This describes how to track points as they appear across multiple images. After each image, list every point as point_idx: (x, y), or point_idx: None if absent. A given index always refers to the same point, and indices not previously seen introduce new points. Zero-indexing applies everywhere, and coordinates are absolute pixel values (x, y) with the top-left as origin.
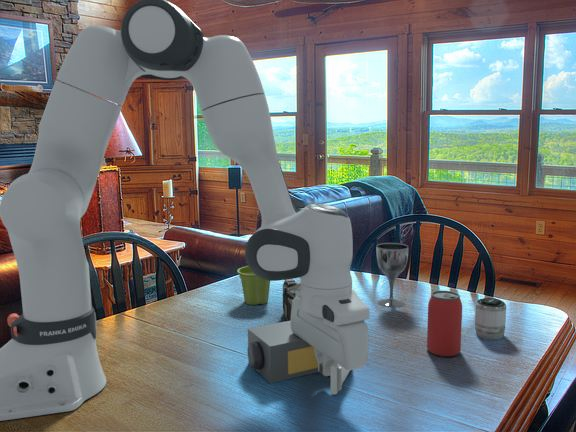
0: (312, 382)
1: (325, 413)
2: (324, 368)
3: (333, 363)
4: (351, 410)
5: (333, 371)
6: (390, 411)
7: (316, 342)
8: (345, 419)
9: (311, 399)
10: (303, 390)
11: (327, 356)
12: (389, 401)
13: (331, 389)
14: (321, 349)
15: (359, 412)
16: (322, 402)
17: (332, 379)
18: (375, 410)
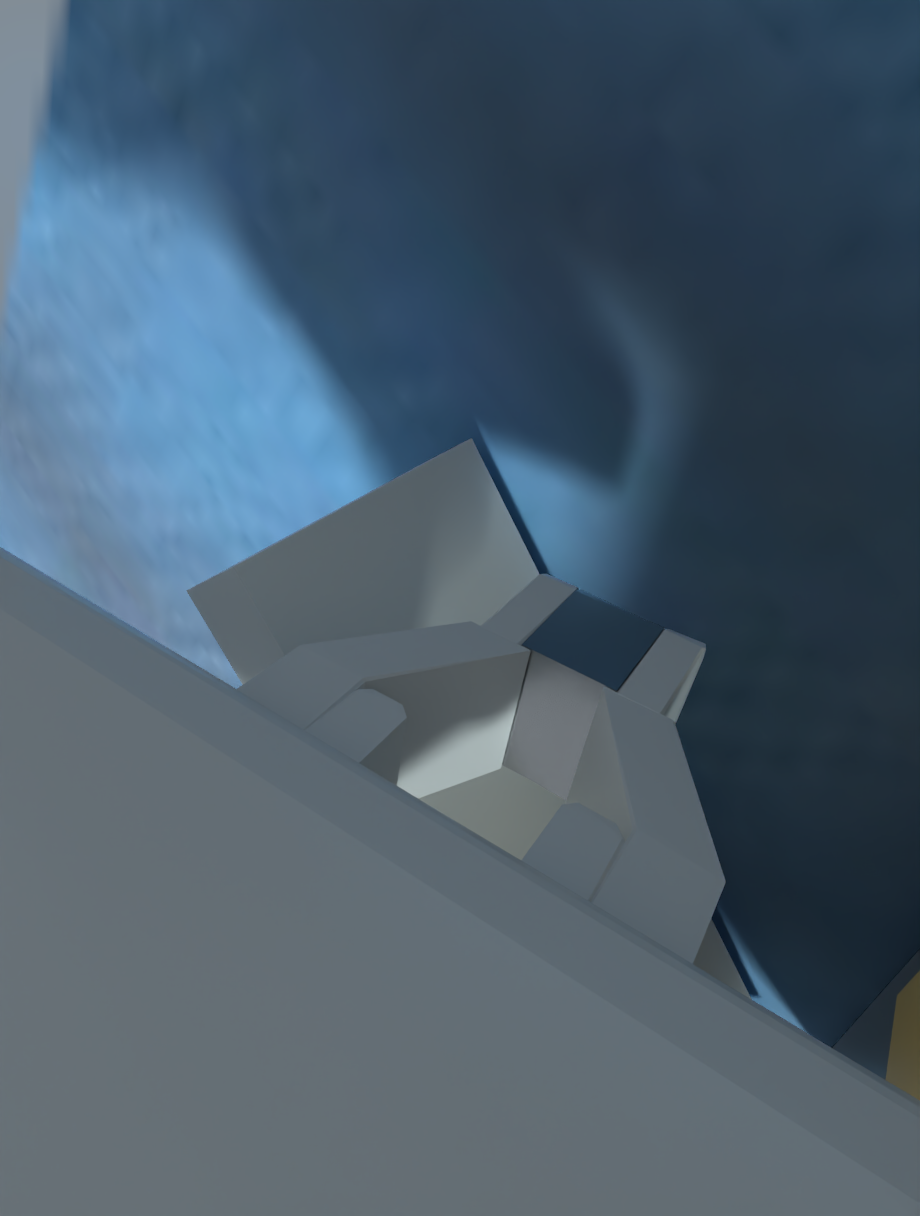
0: (875, 570)
1: (268, 92)
2: (491, 619)
3: (275, 661)
4: (216, 346)
5: (265, 548)
6: (121, 527)
7: (298, 925)
8: (134, 180)
9: (566, 195)
10: (822, 300)
11: (103, 609)
12: (207, 638)
13: (438, 458)
14: (172, 722)
15: (174, 368)
16: (440, 250)
17: (351, 502)
18: (157, 476)
